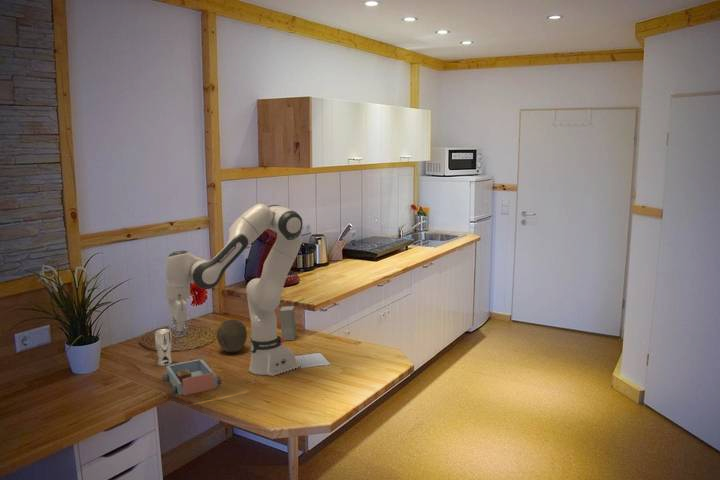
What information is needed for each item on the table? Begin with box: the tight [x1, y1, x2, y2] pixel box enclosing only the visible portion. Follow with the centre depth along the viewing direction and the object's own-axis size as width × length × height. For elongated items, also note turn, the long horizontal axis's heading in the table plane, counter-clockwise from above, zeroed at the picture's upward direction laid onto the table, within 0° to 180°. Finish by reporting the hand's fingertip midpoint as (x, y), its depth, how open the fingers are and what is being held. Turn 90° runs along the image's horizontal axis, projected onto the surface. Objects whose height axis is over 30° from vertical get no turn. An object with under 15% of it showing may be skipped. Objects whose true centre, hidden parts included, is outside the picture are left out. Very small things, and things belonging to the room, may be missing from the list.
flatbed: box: [161, 358, 222, 396], centre depth 233 cm, size 19×22×6 cm
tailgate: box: [182, 372, 216, 396], centre depth 223 cm, size 12×1×8 cm, turn 121°
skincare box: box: [279, 305, 297, 341], centre depth 288 cm, size 8×7×16 cm
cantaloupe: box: [216, 319, 248, 353], centre depth 270 cm, size 14×14×15 cm
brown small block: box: [176, 370, 192, 386], centre depth 231 cm, size 5×5×4 cm
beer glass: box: [154, 328, 173, 367], centre depth 256 cm, size 7×7×15 cm
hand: (177, 327), depth 223 cm, fingers open, 8 cm apart
